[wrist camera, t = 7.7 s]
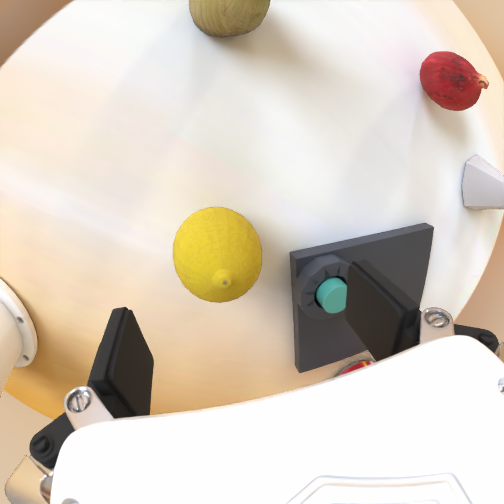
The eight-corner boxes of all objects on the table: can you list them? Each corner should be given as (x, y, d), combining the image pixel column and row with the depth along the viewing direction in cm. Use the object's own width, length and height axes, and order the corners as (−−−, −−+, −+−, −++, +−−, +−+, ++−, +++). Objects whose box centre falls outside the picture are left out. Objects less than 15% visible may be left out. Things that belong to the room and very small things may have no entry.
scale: (293, 365, 29) (302, 384, 26) (286, 252, 23) (299, 268, 20) (407, 324, 31) (420, 337, 29) (425, 222, 25) (444, 232, 23)
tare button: (315, 306, 23) (323, 317, 21) (315, 280, 22) (323, 290, 20) (342, 299, 23) (350, 308, 22) (343, 273, 22) (353, 282, 21)
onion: (406, 105, 20) (473, 107, 13) (399, 50, 18) (462, 38, 10) (442, 112, 21) (502, 118, 14) (436, 62, 18) (494, 59, 11)
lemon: (255, 250, 22) (288, 305, 15) (191, 274, 22) (195, 339, 15) (235, 185, 20) (261, 213, 13) (164, 212, 20) (150, 255, 12)
